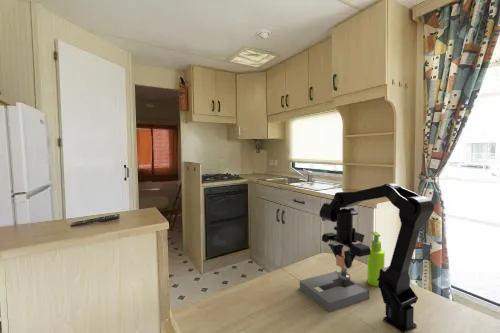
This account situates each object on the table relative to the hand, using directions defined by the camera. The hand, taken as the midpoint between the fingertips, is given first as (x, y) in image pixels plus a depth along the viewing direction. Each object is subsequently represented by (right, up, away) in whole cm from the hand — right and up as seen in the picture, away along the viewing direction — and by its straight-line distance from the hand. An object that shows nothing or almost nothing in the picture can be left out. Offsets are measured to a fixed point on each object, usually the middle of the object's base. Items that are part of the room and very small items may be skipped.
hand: (344, 265), depth 92 cm
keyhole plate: (-6, -9, -2) cm, 11 cm away
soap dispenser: (+15, -9, +6) cm, 19 cm away
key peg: (0, -5, 0) cm, 4 cm away
